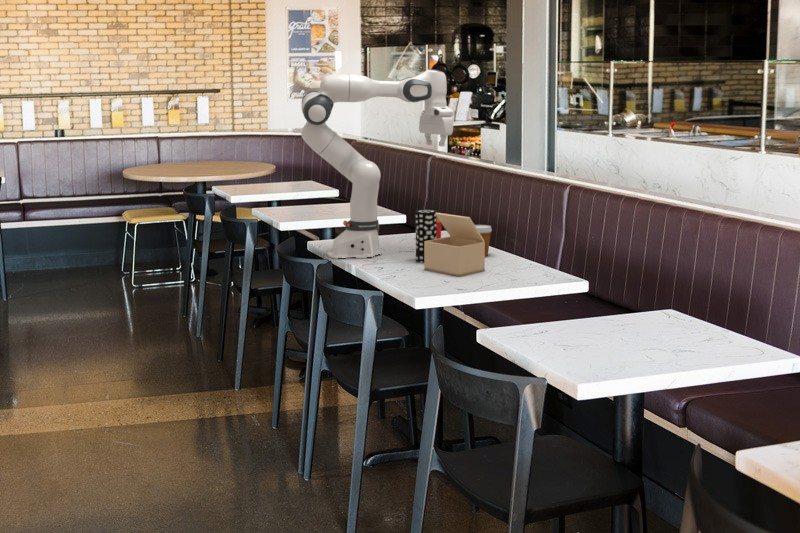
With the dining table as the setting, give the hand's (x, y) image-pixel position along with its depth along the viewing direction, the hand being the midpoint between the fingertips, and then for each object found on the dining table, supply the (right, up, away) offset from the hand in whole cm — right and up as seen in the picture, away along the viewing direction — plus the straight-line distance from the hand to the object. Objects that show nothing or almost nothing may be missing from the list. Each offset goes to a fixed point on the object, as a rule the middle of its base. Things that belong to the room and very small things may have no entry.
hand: (435, 145), depth 390 cm
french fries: (+1, -39, +34) cm, 51 cm away
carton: (+6, -50, -23) cm, 55 cm away
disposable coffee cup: (+18, -44, +5) cm, 48 cm away
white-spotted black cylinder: (-4, -47, -5) cm, 47 cm away
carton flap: (+8, -34, -24) cm, 42 cm away
